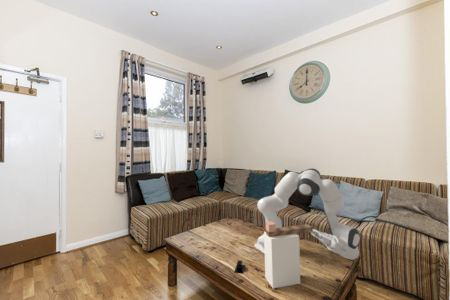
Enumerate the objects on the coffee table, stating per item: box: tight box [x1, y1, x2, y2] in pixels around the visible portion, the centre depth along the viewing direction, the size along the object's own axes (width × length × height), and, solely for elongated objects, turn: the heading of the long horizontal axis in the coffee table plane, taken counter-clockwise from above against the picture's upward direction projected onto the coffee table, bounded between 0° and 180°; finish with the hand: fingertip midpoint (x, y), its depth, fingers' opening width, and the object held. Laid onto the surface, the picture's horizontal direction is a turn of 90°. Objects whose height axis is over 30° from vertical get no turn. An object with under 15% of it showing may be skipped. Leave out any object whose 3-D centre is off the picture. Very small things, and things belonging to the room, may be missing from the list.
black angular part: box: [233, 260, 246, 275], centre depth 129 cm, size 12×7×5 cm, turn 165°
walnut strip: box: [266, 223, 313, 237], centre depth 118 cm, size 26×4×2 cm, turn 102°
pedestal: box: [263, 231, 301, 289], centre depth 117 cm, size 16×10×26 cm, turn 102°
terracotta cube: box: [265, 221, 276, 232], centre depth 115 cm, size 4×4×4 cm
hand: (315, 234), depth 121 cm, fingers open, 8 cm apart
